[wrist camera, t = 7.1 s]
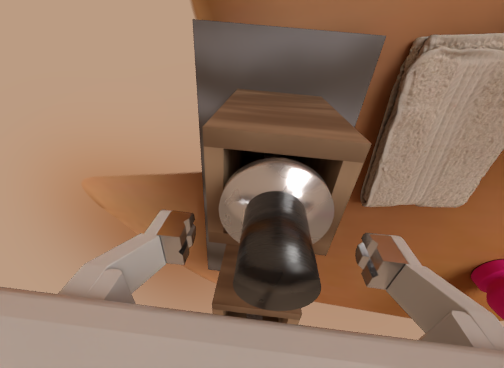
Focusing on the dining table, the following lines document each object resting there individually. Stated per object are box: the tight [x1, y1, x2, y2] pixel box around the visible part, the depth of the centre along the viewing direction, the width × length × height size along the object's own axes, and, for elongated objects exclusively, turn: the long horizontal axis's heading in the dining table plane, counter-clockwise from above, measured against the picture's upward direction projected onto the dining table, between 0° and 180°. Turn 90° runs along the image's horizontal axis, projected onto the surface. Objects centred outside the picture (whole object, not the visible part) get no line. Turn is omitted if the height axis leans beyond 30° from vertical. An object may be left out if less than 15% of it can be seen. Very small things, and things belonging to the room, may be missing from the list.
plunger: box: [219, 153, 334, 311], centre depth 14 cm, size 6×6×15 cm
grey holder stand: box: [193, 19, 386, 325], centre depth 22 cm, size 34×16×14 cm, turn 176°
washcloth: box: [360, 33, 504, 207], centre depth 21 cm, size 12×18×3 cm, turn 2°
